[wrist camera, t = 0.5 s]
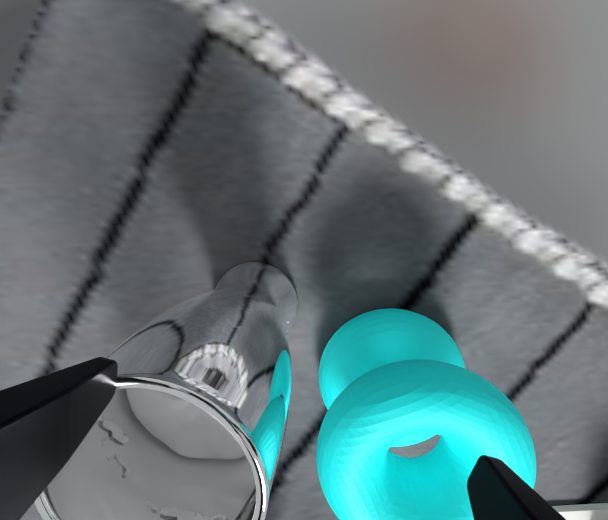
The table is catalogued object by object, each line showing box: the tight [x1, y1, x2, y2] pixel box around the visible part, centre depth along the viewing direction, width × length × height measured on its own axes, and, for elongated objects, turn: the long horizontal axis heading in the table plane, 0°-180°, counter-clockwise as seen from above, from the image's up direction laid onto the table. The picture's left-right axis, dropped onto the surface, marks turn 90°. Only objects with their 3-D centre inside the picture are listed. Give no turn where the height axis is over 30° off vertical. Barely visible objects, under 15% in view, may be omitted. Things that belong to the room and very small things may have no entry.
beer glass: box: [34, 262, 298, 520], centre depth 16 cm, size 7×7×15 cm
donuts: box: [316, 308, 536, 520], centre depth 18 cm, size 10×10×10 cm
